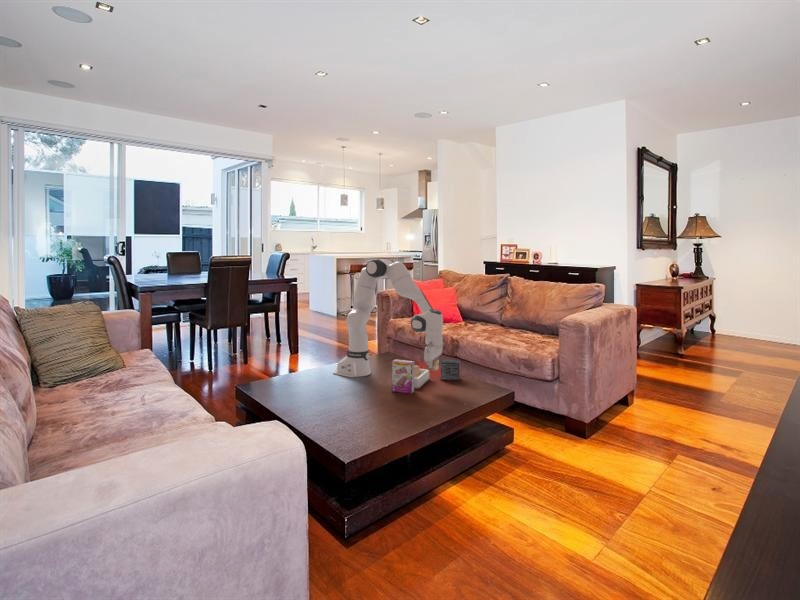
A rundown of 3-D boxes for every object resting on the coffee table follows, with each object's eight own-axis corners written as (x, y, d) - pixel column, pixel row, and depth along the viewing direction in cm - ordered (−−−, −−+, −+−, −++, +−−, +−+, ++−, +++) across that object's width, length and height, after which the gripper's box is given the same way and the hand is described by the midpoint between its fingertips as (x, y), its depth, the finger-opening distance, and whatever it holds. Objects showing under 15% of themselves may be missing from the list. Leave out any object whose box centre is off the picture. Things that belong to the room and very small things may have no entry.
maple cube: (426, 369, 237) (427, 360, 236) (429, 367, 241) (430, 358, 241) (435, 371, 235) (436, 361, 234) (438, 368, 239) (439, 359, 239)
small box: (459, 377, 261) (459, 360, 259) (459, 381, 254) (459, 362, 253) (440, 377, 262) (440, 359, 260) (440, 380, 255) (440, 362, 254)
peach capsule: (408, 378, 255) (409, 366, 254) (412, 376, 259) (412, 364, 258) (416, 380, 252) (417, 368, 252) (420, 378, 257) (420, 366, 256)
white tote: (393, 385, 246) (393, 375, 245) (405, 376, 263) (405, 367, 262) (418, 388, 240) (418, 378, 240) (429, 379, 257) (429, 369, 257)
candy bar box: (391, 392, 235) (391, 361, 233) (394, 389, 240) (394, 358, 238) (411, 394, 231) (411, 363, 229) (414, 391, 236) (414, 360, 234)
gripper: (433, 345, 225) (432, 372, 227) (445, 337, 244) (444, 362, 246) (421, 343, 228) (420, 370, 230) (434, 336, 247) (433, 361, 248)
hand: (432, 366), depth 238 cm, fingers closed on maple cube, 5 cm apart
